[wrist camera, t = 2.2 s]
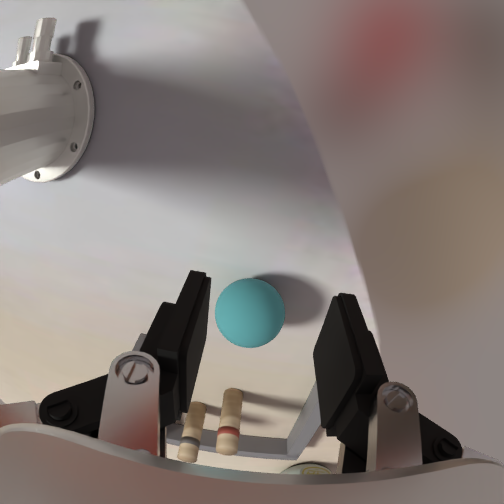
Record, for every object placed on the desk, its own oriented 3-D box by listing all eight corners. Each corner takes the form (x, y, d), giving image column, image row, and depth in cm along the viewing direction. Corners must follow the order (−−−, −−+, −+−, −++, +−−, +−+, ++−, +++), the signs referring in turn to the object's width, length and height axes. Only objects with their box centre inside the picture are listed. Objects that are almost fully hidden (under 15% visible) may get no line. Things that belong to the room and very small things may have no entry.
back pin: (189, 400, 37) (176, 452, 30) (207, 403, 38) (197, 457, 30) (189, 409, 39) (177, 460, 31) (206, 412, 39) (196, 464, 31)
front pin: (224, 386, 36) (215, 445, 28) (244, 389, 36) (238, 448, 28) (223, 397, 37) (214, 453, 29) (242, 400, 37) (236, 456, 29)
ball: (223, 261, 27) (212, 300, 22) (289, 271, 28) (293, 312, 22) (217, 313, 30) (207, 356, 25) (277, 322, 30) (277, 366, 25)
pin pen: (140, 333, 32) (131, 351, 30) (340, 363, 33) (344, 382, 30) (154, 424, 42) (150, 439, 39) (296, 445, 42) (296, 460, 39)
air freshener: (269, 471, 48) (267, 514, 39) (290, 457, 45) (290, 505, 36) (315, 477, 50) (317, 517, 41) (339, 463, 46) (343, 507, 37)
